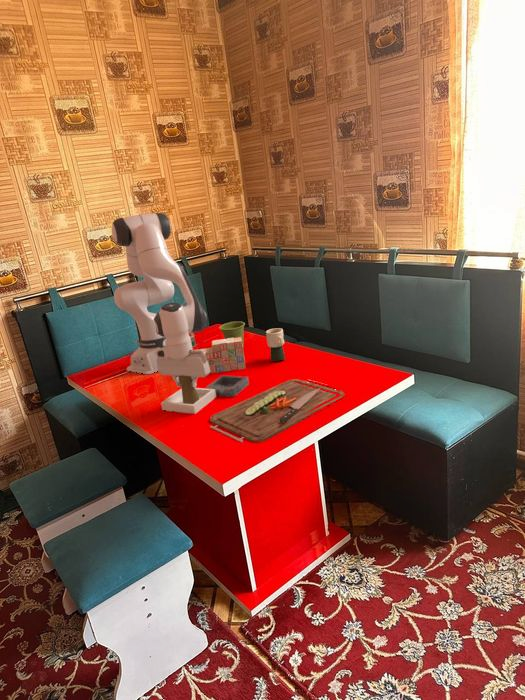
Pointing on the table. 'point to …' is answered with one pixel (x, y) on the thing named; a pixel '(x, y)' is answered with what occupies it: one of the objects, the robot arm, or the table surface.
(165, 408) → the tray
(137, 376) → the table surface
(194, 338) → the canned tomato
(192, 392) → the cork
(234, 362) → the stack of blocks
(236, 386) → the grey square shallow box
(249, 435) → the chopping board
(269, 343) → the character mug
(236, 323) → the plant pot
